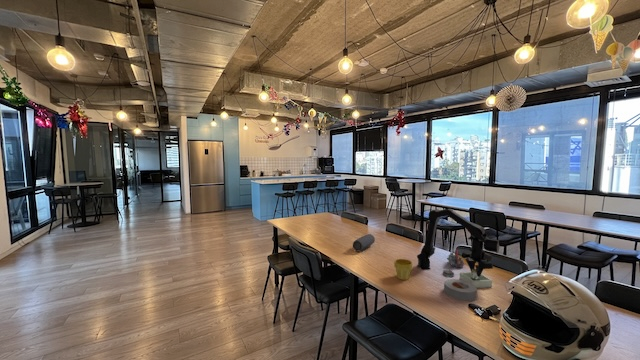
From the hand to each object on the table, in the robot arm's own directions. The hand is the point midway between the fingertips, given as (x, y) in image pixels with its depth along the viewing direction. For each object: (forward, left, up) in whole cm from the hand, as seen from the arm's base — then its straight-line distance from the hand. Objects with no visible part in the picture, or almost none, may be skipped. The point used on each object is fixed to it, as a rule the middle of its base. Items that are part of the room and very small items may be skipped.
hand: (475, 274), depth 154 cm
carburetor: (+5, +26, -5) cm, 27 cm away
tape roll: (-17, -11, -6) cm, 21 cm away
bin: (0, 0, -5) cm, 5 cm away
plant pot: (-39, +11, -5) cm, 41 cm away
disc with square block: (-9, +12, -5) cm, 16 cm away
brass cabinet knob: (0, 0, -4) cm, 4 cm away
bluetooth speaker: (-48, +64, -5) cm, 80 cm away
